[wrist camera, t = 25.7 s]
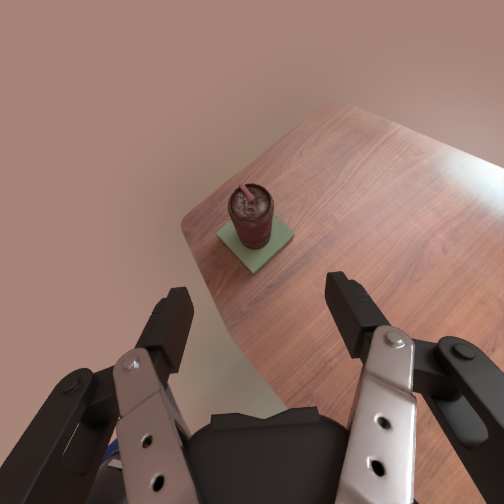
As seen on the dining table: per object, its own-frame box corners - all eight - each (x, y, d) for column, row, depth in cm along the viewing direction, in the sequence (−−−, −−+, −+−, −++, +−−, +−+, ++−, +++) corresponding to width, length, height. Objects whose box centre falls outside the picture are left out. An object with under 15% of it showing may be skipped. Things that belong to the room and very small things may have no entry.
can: (257, 213, 40) (254, 170, 26) (277, 238, 39) (283, 206, 25) (232, 230, 40) (216, 196, 26) (251, 256, 38) (244, 234, 25)
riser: (254, 275, 42) (253, 273, 38) (219, 238, 44) (215, 232, 40) (292, 240, 43) (295, 234, 39) (256, 205, 45) (256, 197, 41)
